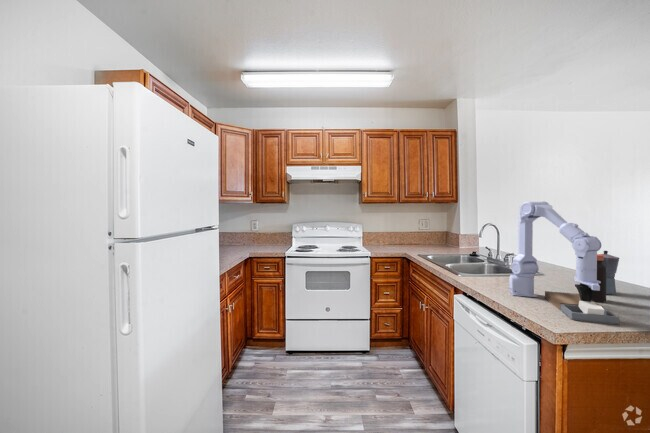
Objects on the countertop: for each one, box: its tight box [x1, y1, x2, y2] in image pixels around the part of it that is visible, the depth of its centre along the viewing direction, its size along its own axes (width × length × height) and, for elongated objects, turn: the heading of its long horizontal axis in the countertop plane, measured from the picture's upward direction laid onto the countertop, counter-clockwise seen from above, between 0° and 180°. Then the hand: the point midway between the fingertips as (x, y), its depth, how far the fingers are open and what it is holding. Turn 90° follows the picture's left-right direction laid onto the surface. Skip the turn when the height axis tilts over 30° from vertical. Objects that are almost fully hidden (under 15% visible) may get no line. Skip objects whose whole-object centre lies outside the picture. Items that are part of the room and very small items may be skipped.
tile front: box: [584, 304, 605, 315], centre depth 101 cm, size 4×4×2 cm
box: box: [560, 304, 620, 326], centre depth 104 cm, size 13×10×3 cm
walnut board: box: [544, 290, 604, 311], centre depth 117 cm, size 13×17×3 cm
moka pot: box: [600, 250, 620, 296], centre depth 133 cm, size 10×15×20 cm, turn 107°
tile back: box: [578, 301, 598, 313], centre depth 104 cm, size 4×4×2 cm
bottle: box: [592, 253, 607, 303], centre depth 123 cm, size 7×7×20 cm
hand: (585, 304), depth 106 cm, fingers closed, pressing on tile back
